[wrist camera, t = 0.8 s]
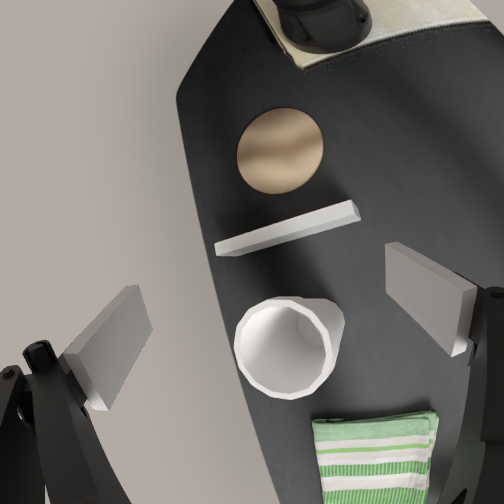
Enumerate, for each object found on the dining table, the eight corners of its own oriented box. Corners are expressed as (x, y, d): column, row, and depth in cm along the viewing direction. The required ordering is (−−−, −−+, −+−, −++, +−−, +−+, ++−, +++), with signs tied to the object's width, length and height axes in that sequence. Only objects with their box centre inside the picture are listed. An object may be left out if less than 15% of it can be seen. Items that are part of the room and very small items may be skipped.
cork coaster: (232, 131, 43) (230, 129, 42) (307, 97, 37) (306, 95, 36) (248, 206, 41) (246, 206, 40) (335, 176, 35) (334, 174, 34)
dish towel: (438, 403, 27) (439, 413, 25) (425, 510, 24) (424, 521, 22) (313, 417, 36) (307, 426, 33) (326, 515, 33) (321, 525, 30)
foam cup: (362, 350, 33) (341, 394, 21) (295, 362, 37) (248, 401, 25) (346, 277, 34) (317, 287, 23) (279, 295, 38) (224, 309, 27)
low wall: (234, 245, 42) (214, 243, 37) (357, 207, 34) (350, 199, 29) (237, 256, 42) (216, 255, 37) (361, 220, 33) (355, 213, 29)
